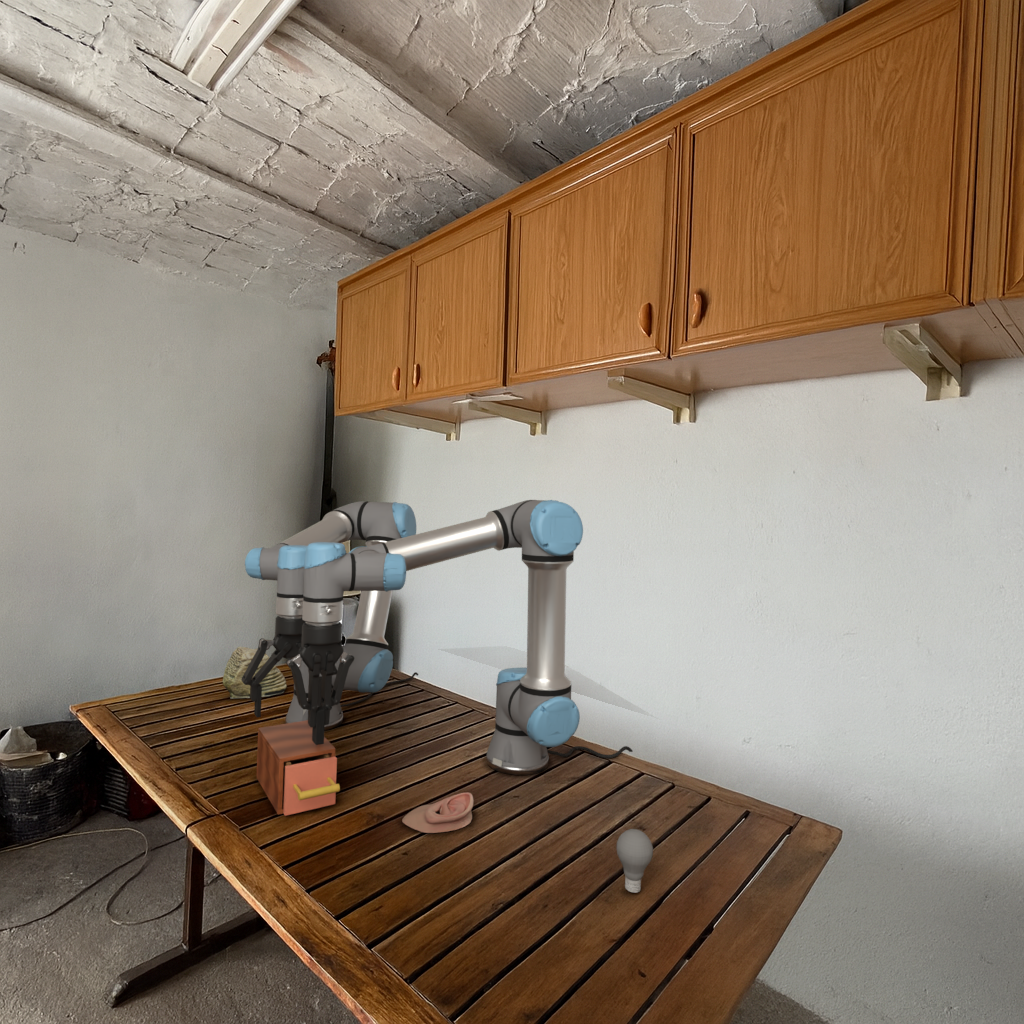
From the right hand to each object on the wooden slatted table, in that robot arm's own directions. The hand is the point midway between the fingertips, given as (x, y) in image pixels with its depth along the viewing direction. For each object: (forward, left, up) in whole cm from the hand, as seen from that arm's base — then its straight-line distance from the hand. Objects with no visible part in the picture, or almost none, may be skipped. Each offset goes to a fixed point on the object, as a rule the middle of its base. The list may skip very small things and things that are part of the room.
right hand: (317, 741), depth 124 cm
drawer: (+2, -9, -15) cm, 17 cm away
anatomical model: (-23, +7, -16) cm, 29 cm away
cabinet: (+3, -15, -16) cm, 22 cm away
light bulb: (-48, +39, -16) cm, 64 cm away
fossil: (+12, -84, -16) cm, 87 cm away
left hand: (+4, -20, 0) cm, 20 cm away
